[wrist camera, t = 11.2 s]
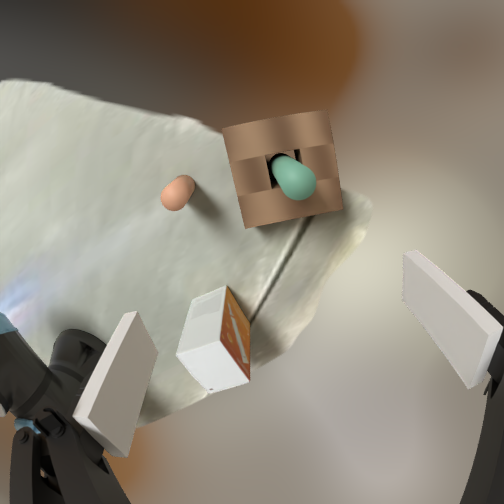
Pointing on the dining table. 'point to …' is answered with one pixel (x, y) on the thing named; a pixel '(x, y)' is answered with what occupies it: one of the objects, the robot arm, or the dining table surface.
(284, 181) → the long dowel
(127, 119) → the dining table surface
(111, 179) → the dining table surface
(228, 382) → the small box
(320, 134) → the collar block
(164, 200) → the short dowel
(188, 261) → the dining table surface
